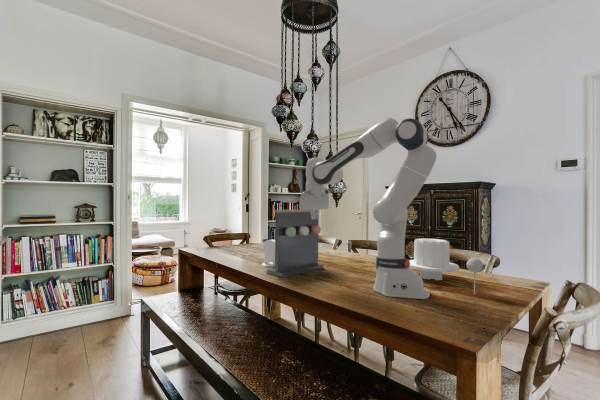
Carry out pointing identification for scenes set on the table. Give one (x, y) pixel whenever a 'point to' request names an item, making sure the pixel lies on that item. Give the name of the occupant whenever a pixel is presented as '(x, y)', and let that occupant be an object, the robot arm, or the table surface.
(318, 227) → the terracotta button
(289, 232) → the sage button
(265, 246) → the metal pitcher
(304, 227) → the cream button
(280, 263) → the button panel
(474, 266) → the lollipop
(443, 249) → the white brimmed cylinder
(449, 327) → the table surface
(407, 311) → the table surface
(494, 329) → the table surface
